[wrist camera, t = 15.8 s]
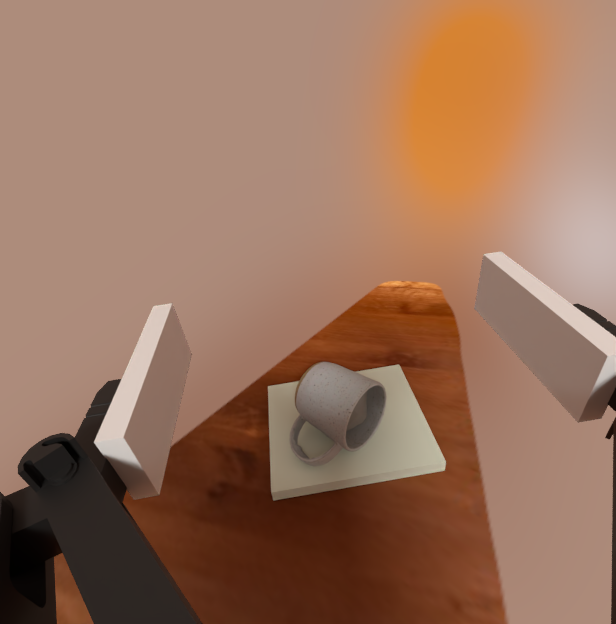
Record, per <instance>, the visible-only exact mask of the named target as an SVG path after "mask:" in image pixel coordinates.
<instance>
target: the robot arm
mask: <svg viewBox="0 0 616 624" xmlns="http://www.w3.org/2000/svg"><path fill="white" fill-rule="evenodd" d="M475 310H476V311H477V312H478V313H479V314H480V315H481V316H482V317H483V318H484V320H486V322H487V323H488V324H489V325H490V326H491V327H492V328H493V329H494V331H495V332H496V333H497V334H498V335H499V336H500V337H501V338H502V339H503V341H504V342H505V343H506V344H507V345H508V346H509V347H510V348H511V349H512V350H513V351H514V353H515V354H516V355H517V356H518V357H519V358H520V359H521V360H522V361H523V363H524V364H525V365H526V366H527V367H528V368H529V369H530V370H531V371H532V372H533V374H534V375H535V376H536V377H537V378H538V379H539V380H540V381H541V382H542V383H543V385H544V386H545V387H546V388H547V389H548V390H549V391H550V392H551V393H552V395H553V396H554V397H555V398H556V399H557V400H558V401H559V402H560V403H561V404H562V406H563V407H564V408H565V409H566V410H567V411H568V412H569V413H570V414H571V415H572V416H573V418H574V419H575V420H576V421H577V422H583V421H590V420H595V419H600V418H602V416H603V414H604V412H605V410H606V408H607V406H608V405H609V406H610V407H611V408H613V410H615V411H616V326H615V325H613V324H612V323H611V322H610V321H608V322H607V319H605V318H604V317H602V316H601V315H600V314H598V313H597V312H596V311H594V310H592V309H589V308H587V307H584V306H582V305H580V304H574V305H572V304H571V303H569V302H568V301H566V300H565V299H564V298H563V297H561V296H560V295H559V294H557V293H556V292H554V291H553V290H552V289H551V288H549V287H548V286H547V285H545V284H544V283H542V282H541V281H540V280H539V279H537V278H536V277H534V276H533V275H532V274H531V273H529V272H528V271H526V270H525V269H524V268H522V267H521V266H520V265H518V264H517V263H516V262H514V261H513V260H512V259H510V258H509V257H508V256H506V255H505V254H504V253H502V252H495V253H489V254H484V255H483V260H482V266H481V272H480V278H479V284H478V290H477V296H476V302H475ZM191 355H192V354H191V351H190V348H189V346H188V343H187V340H186V338H185V335H184V333H183V330H182V327H181V325H180V322H179V319H178V317H177V314H176V312H175V309H174V306H173V304H172V303H171V304H164V305H158V306H154V307H153V309H152V311H151V313H150V316H149V318H148V320H147V322H146V325H145V327H144V329H143V332H142V334H141V336H140V338H139V341H138V343H137V345H136V347H135V350H134V352H133V354H132V357H131V359H130V361H129V364H128V366H127V368H126V370H125V373H124V375H123V377H122V379H118V380H113V381H108V382H107V383H106V384H105V385H104V386H103V387H102V388H101V389H100V390H99V391H98V392H97V394H96V396H95V398H94V400H93V402H92V404H91V408H89V410H88V412H87V414H86V418H84V420H83V422H82V424H81V426H80V428H79V430H78V432H77V434H76V436H75V438H74V437H73V436H71V435H70V434H65V433H60V434H56V435H52V436H49V437H47V438H45V439H43V440H41V441H40V442H38V443H37V444H35V445H34V446H33V447H31V448H30V449H29V450H28V451H27V453H26V454H25V455H24V456H23V457H22V459H21V461H20V463H19V465H18V474H19V475H20V476H21V477H22V478H23V479H24V480H25V481H26V482H27V484H28V485H29V486H28V487H26V488H24V489H21V490H19V491H17V492H14V493H12V494H10V495H7V496H4V495H3V494H2V493H1V492H0V624H57V619H56V596H55V573H54V556H56V555H58V554H61V553H63V555H64V557H65V559H66V561H67V564H68V566H69V568H70V571H71V573H72V575H73V577H74V580H75V582H76V584H77V586H78V589H79V591H80V593H81V595H82V598H83V600H84V602H85V604H86V607H87V609H88V611H89V613H90V616H91V618H92V620H93V623H94V624H202V622H201V621H200V619H199V618H198V616H197V615H196V613H195V611H194V610H193V608H192V607H191V605H190V604H189V602H188V601H187V599H186V598H185V596H184V595H183V593H182V592H181V590H180V589H179V587H178V586H177V584H176V583H175V581H174V580H173V578H172V577H171V575H170V574H169V572H168V571H167V569H166V567H165V566H164V564H163V563H162V561H161V560H160V558H159V557H158V555H157V554H156V552H155V551H154V549H153V548H152V546H151V545H150V543H149V542H148V540H147V539H146V537H145V536H144V534H143V533H142V531H141V530H140V528H139V527H138V525H137V523H136V522H135V520H134V519H133V517H132V516H131V514H130V513H129V511H128V510H127V508H126V507H125V505H124V504H123V503H122V502H123V499H124V496H125V492H126V489H127V490H128V492H129V493H130V495H131V496H132V498H133V499H140V498H146V497H151V496H157V495H159V494H160V490H161V485H162V481H163V477H164V472H165V468H166V464H167V459H168V455H169V451H170V446H171V442H172V438H173V433H174V429H175V424H176V420H177V416H178V412H179V407H180V403H181V399H182V394H183V390H184V386H185V381H186V377H187V373H188V368H189V364H190V360H191ZM613 434H614V444H613V445H614V447H613V451H614V452H613V528H612V529H613V530H612V533H613V534H612V608H611V610H612V611H611V624H616V418H615V420H614V421H613V424H612V425H611V427H610V429H609V431H608V433H607V435H606V438H607V439H610V438H611V436H612V435H613Z"/></svg>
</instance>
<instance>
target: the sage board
mask: <svg viewBox="0 0 616 624" xmlns="http://www.w3.org/2000/svg"><path fill="white" fill-rule="evenodd" d="M356 373H359V374H361V375H363V376H365V377H368V378H370V379H372V380H375V381H378V382H380V383H381V384H382V385H383V386H384V388H385V391H386V396H387V397H386V407H385V411H384V415H383V418H382V420H381V423H380V424H379V426H378V429H377V430H376V432H375V433H374V435H373V436H372V438H371V439H370V440H369V441H368V442H367V443H366V444H365V445H364V446H363V447H362V448H360V449H359V450H356V451H347V450H345V449H344V448H343V449H342V450H341V451H340V452H339V453H338V454H337V455H336V456H335V457H334V458H333V459H332V460H331V461H329V462H328V463H326V464H324V465H320V466H311V465H308V464H306V463H304V462H303V461H301V460H300V459H299V458H298V457H297V456H296V455H295V454H294V453H293V451H292V449H291V446H290V432H291V428H292V426H293V424H294V422H295V420H296V419H297V418H298V417H299V415H300V414H299V412H298V411H297V409H296V406H295V392H296V388H297V385H298V383H299V381H296V382H290V383H284V384H278V385H272V386H268V406H269V440H270V473H271V494H272V497H273V500H280V499H286V498H291V497H297V496H303V495H308V494H314V493H320V492H325V491H331V490H337V489H343V488H348V487H354V486H360V485H365V484H371V483H377V482H382V481H388V480H394V479H400V478H405V477H411V476H417V475H422V474H428V473H434V472H440V471H445V465H446V461H445V459H444V457H443V455H442V453H441V450H440V448H439V446H438V444H437V442H436V440H435V438H434V436H433V434H432V432H431V430H430V428H429V425H428V423H427V421H426V419H425V417H424V415H423V413H422V411H421V409H420V407H419V405H418V402H417V400H416V398H415V396H414V394H413V392H412V390H411V388H410V386H409V384H408V382H407V380H406V377H405V375H404V373H403V371H402V369H401V367H400V365H393V366H387V367H381V368H375V369H369V370H363V371H356ZM334 443H335V442H334V441H333V440H332V439H330V438H329V437H327V436H326V435H325V434H324V433H323V432H321V431H320V430H319V429H317V428H315V427H314V426H312V425H311V424H310V423H309V422H307V421H306V422H305V423H304V425H303V426H302V428H301V430H300V433H299V435H298V443H297V444H298V445H299V446H301V448H302V451H303V452H304V453H305V454H306V455H307V456H308V457H309V458H310V459H311V458H316V457H319V456H322V455H323V454H324V453H326V452H327V451H328V450H329V449H330V448H331V447H332V446H333V445H334Z"/></svg>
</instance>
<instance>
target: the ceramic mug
mask: <svg viewBox="0 0 616 624" xmlns="http://www.w3.org/2000/svg"><path fill="white" fill-rule="evenodd" d="M386 397H387V396H386V391H385V388H384V386H383V385H382V384H381V383H380V382H378V381H375V380H372V379H370V378H368V377H365V376H363V375H361V374H359V373H356V372H354V371H351V370H349V369H346V368H344V367H342V366H340V365H337V364H334V363H330V362H319V363H316V364H314V365H313V366H311V367H310V368H309V369H308V370H307V371H306V372H305V373H304V374H303V376H302V377H301V379H300V381H299V383H298V385H297V388H296V392H295V406H296V409H297V411H298V412H299V414H300V415H299V417H298V418H297V419H296V420H295V422H294V424H293V426H292V428H291V432H290V446H291V449H292V451H293V453H294V454H295V455H296V456H297V457H298V458H299V459H300V460H301V461H303V462H304V463H306V464H308V465H311V466H320V465H324V464H326V463H328V462H329V461H331V460H332V459H333V458H334V457H335V456H336V455H337V454H338V453H339V452H340V451H341V450H342V449H343V448H344V449H345V450H347V451H356V450H359V449H360V448H362V447H363V446H364V445H365V444H366V443H367V442H368V441H369V440H370V439H371V438H372V436H373V435H374V433H375V432H376V430H377V429H378V426H379V424H380V423H381V420H382V418H383V415H384V411H385V407H386ZM306 421H307V422H309V423H310V424H311V425H312V426H314V427H315V428H317V429H319V430H320V431H321V432H323V433H324V434H325V435H326V436H327V437H329V438H330V439H332V440H333V441H334V442H335V443H334V445H333V446H332V447H331V448H330V449H329V450H328V451H327V452H326V453H324V454H323V455H322V456H319V457H316V458H311V459H310V458H309V457H308V456H307V455H306V454H305V453H304V452H303V451H302V448H301V446H299V445H298V444H297V443H298V435H299V433H300V430H301V428H302V426H303V425H304V423H305V422H306Z"/></svg>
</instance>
